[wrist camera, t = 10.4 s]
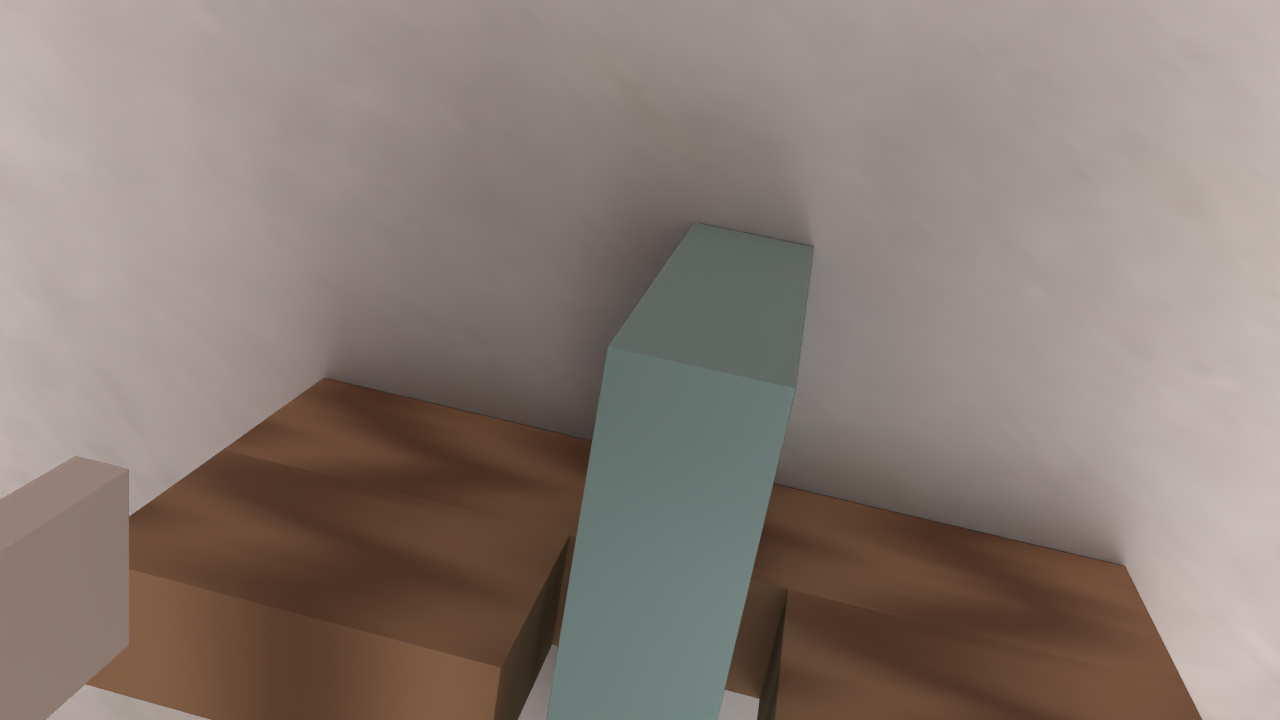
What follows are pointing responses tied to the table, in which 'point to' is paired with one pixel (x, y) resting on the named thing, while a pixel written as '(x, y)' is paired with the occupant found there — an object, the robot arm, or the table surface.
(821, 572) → the notched wooden saddle block
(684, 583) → the teal notched bridge
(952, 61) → the table surface
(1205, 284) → the table surface
